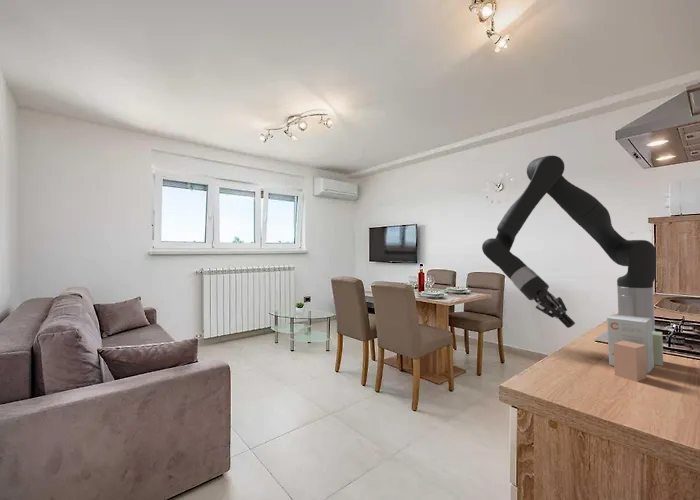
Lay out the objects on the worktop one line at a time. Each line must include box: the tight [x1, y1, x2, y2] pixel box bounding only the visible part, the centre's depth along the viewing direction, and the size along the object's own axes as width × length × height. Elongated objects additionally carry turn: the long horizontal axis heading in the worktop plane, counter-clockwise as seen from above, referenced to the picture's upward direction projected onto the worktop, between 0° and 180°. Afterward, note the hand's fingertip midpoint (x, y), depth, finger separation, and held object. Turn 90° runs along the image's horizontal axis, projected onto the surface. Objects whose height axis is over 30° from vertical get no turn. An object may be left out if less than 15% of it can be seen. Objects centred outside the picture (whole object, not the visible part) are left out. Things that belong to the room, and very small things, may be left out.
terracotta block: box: [613, 341, 648, 383], centre depth 78 cm, size 4×4×8 cm
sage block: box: [652, 330, 664, 367], centre depth 86 cm, size 4×4×8 cm
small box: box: [606, 313, 655, 374], centre depth 84 cm, size 8×6×13 cm
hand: (571, 325), depth 95 cm, fingers closed
